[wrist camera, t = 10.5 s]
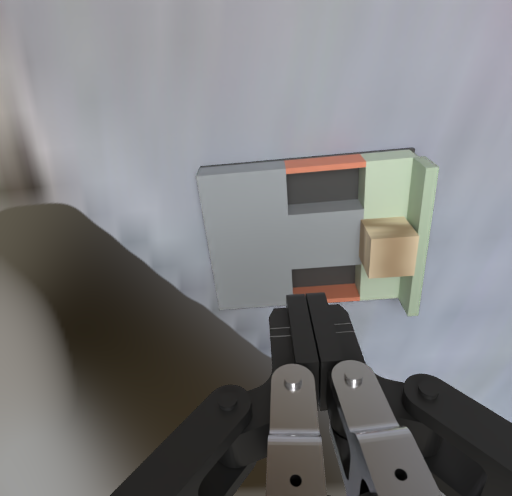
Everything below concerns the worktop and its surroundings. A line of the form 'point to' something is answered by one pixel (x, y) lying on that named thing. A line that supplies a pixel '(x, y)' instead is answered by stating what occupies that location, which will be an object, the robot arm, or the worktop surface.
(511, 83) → the worktop surface
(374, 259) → the maple block
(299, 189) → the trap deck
